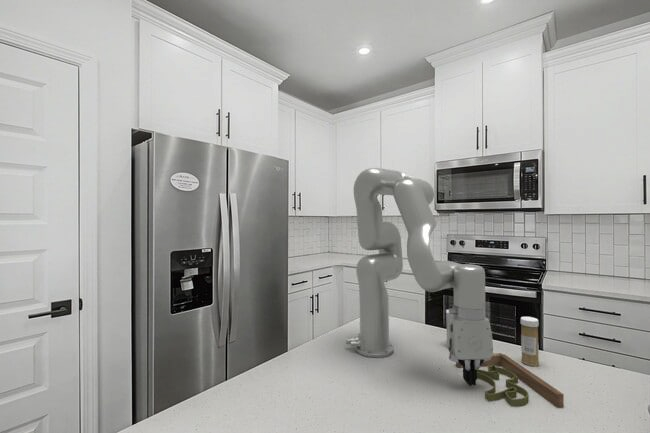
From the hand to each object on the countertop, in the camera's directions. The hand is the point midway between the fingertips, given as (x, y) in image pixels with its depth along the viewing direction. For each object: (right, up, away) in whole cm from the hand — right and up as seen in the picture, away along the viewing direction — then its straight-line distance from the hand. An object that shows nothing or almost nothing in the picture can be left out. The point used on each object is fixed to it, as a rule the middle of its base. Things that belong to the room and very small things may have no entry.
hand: (469, 382), depth 85 cm
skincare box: (+7, -1, +26) cm, 26 cm away
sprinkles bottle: (+24, -1, +13) cm, 27 cm away
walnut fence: (+8, -1, +1) cm, 8 cm away
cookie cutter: (+7, -1, 0) cm, 7 cm away
